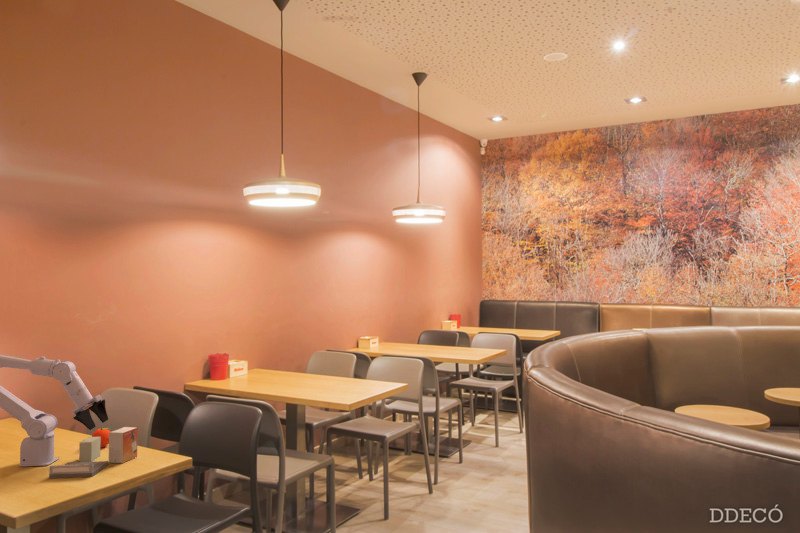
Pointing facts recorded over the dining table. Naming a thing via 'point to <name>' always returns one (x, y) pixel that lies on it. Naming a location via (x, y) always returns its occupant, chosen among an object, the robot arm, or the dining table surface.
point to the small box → (123, 444)
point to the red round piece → (102, 436)
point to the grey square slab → (76, 469)
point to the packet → (89, 449)
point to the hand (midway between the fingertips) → (99, 424)
